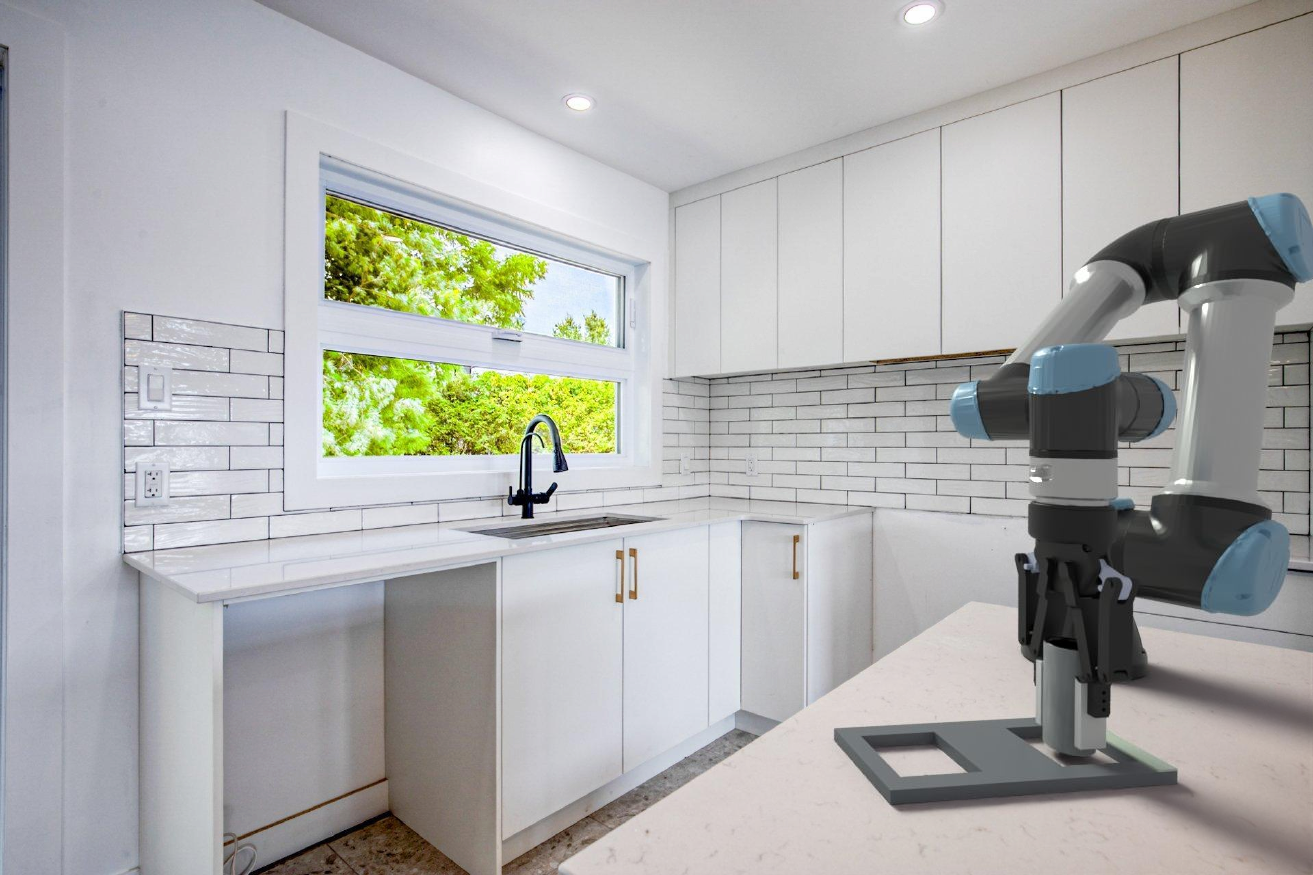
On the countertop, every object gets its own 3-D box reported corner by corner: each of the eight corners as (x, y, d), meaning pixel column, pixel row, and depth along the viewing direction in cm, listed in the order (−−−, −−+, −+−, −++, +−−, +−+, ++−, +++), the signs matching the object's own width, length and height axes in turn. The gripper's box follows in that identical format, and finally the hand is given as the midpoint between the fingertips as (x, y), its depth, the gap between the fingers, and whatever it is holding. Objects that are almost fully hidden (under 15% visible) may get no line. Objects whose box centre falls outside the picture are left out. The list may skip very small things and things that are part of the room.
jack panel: (1076, 725, 72) (1076, 713, 72) (1177, 783, 60) (1177, 768, 60) (833, 739, 68) (834, 726, 68) (890, 804, 56) (890, 787, 56)
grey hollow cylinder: (1088, 739, 66) (1089, 638, 66) (1102, 760, 62) (1103, 652, 62) (1037, 732, 68) (1038, 634, 68) (1048, 752, 64) (1049, 647, 64)
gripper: (981, 493, 73) (979, 700, 73) (1110, 511, 56) (1107, 783, 56) (1042, 492, 74) (1040, 697, 74) (1187, 510, 57) (1185, 778, 57)
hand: (1069, 733), depth 65 cm, fingers closed on grey hollow cylinder, 4 cm apart
